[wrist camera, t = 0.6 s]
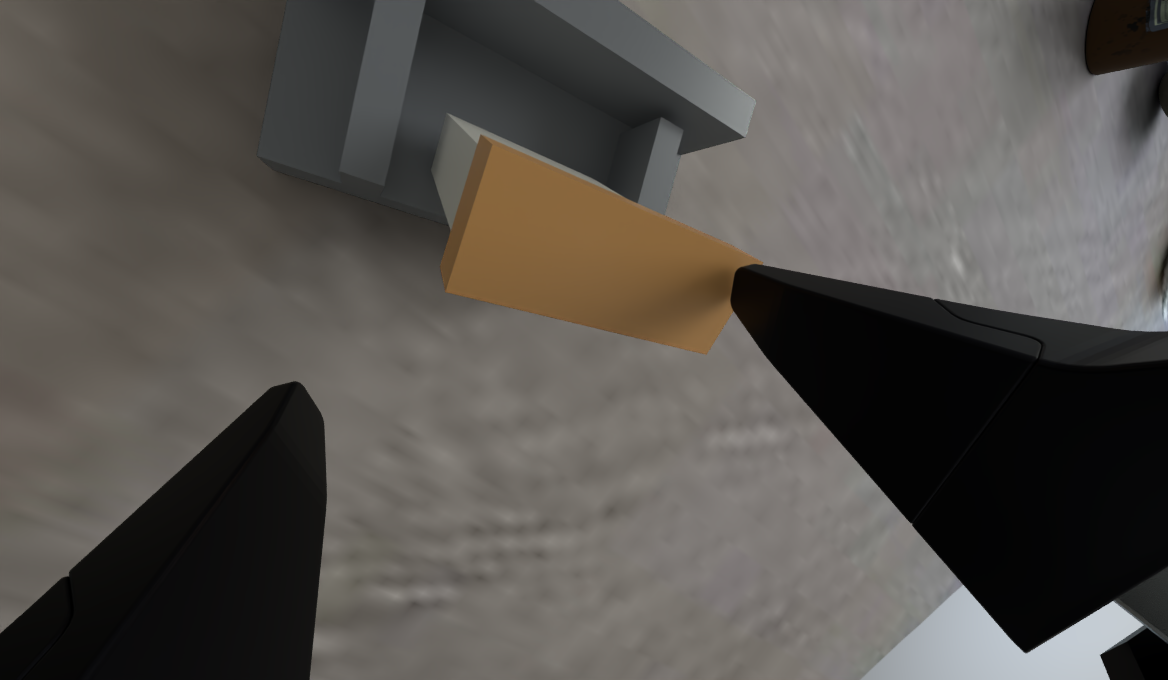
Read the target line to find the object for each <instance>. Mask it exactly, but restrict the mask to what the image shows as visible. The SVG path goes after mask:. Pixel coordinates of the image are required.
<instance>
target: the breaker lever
mask: <svg viewBox="0 0 1168 680" xmlns="http://www.w3.org/2000/svg"><path fill="white" fill-rule="evenodd" d="M431 172H432V175H433V178H434V181H435V184H436V187H437V190H438V193H439V196H440V199H441V202H442V205H443V209H444V212H445V215H446V218H447V221H448V224H449V227H450V230H451V232H450V235H449V239H448V242H447V245H446V248H445V252H444V255H443V258H442V261H441V265H440V269H441V274H442V278H443V283H444V288H445V292H447V293H451V294H455V295H459V296H464V297H468V298H472V299H476V300H480V301H484V302H489V303H493V304H497V305H501V306H505V307H510V308H514V309H518V310H522V311H526V312H530V313H535V314H539V315H543V316H547V317H551V318H555V319H560V320H564V321H568V322H572V323H576V324H581V325H585V326H589V327H593V328H597V329H601V330H606V331H610V332H614V333H618V334H622V335H626V336H631V337H635V338H639V339H643V340H647V341H652V342H656V343H660V344H664V345H668V346H672V347H677V348H681V349H685V350H689V351H693V352H697V353H702V354H706V355H707V353H708V351H709V350H710V348H711V346H712V345H713V343H714V342H715V340H716V338H717V337H718V335H719V334H720V332H721V330H722V329H723V327H724V325H725V324H726V322H727V321H728V319H729V317H730V316H731V314H732V313H733V309H732V307H731V303H730V297H731V291H732V285H733V279H734V274H735V272H736V270H737V269H738V268H739V267H742V266H746V265H750V264H759V265H762V264H763V262H761V261H760V260H758V259H756V258H754V257H752V256H751V255H749V254H747V253H745V252H743V251H741V250H740V249H738V248H736V247H734V246H732V245H730V244H728V243H726V242H723V241H721V240H719V239H717V238H714V237H712V236H710V235H708V234H705V233H703V232H701V231H699V230H696V229H694V228H692V227H689V226H687V225H685V224H683V223H680V222H678V221H676V220H674V219H671V218H669V217H667V216H665V215H662V214H660V213H658V212H656V211H653V210H651V209H649V208H647V207H644V206H642V205H640V204H637V203H635V202H633V201H631V200H628V199H626V198H625V197H623V196H621V195H620V194H618V193H616V192H615V191H613V190H611V189H610V188H608V187H606V186H605V185H603V184H601V183H600V182H598V181H596V180H594V179H593V178H591V177H588V176H586V175H584V174H582V173H580V172H577V171H575V170H573V169H571V168H568V167H566V166H564V165H562V164H560V163H557V162H555V161H553V160H551V159H548V158H546V157H544V156H542V155H540V154H537V153H535V152H533V151H531V150H528V149H526V148H524V147H522V146H520V145H517V144H515V143H513V142H511V141H508V140H506V139H504V138H502V137H500V136H497V135H495V134H493V133H491V132H488V131H486V130H484V129H482V128H480V127H477V126H475V125H473V124H471V123H468V122H466V121H464V120H462V119H460V118H457V117H455V116H453V115H451V114H448V113H446V117H445V120H444V124H443V128H442V131H441V135H440V139H439V142H438V146H437V150H436V153H435V157H434V161H433V164H432V168H431Z"/></svg>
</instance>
